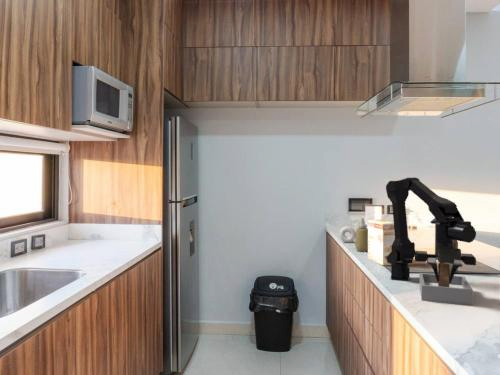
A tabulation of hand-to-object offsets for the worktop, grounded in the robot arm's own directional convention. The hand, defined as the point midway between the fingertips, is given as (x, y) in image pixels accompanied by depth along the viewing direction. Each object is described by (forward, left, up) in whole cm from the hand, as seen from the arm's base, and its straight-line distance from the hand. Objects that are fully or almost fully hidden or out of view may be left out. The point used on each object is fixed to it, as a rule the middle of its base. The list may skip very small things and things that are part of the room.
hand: (443, 282), depth 134 cm
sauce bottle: (+6, +34, -5) cm, 35 cm away
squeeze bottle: (-33, +68, -5) cm, 76 cm away
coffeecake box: (-23, +45, -5) cm, 51 cm away
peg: (0, 0, -2) cm, 2 cm away
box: (0, 0, -4) cm, 5 cm away
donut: (-44, +91, -5) cm, 102 cm away
